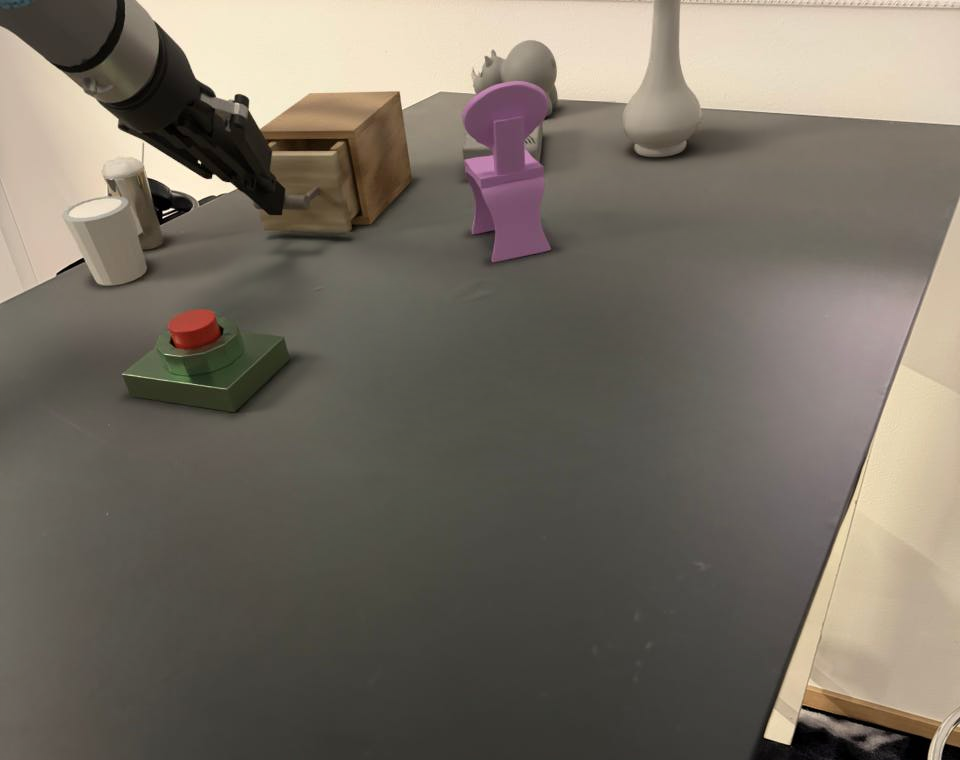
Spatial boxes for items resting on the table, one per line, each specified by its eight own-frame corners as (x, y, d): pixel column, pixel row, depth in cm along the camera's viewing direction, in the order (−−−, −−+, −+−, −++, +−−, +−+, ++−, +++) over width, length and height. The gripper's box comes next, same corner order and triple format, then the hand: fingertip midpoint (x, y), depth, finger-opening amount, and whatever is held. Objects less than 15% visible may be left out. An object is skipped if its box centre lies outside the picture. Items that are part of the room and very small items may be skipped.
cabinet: (370, 224, 98) (353, 130, 91) (279, 222, 101) (256, 131, 94) (412, 180, 107) (399, 91, 100) (327, 179, 110) (309, 93, 103)
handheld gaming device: (464, 181, 105) (461, 146, 102) (475, 140, 115) (473, 108, 112) (538, 177, 104) (537, 142, 101) (543, 136, 114) (542, 103, 111)
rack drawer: (332, 248, 92) (315, 169, 86) (246, 245, 95) (224, 168, 89) (390, 189, 103) (378, 115, 97) (311, 188, 106) (295, 116, 100)
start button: (165, 348, 74) (157, 329, 72) (193, 326, 76) (186, 307, 75) (203, 353, 72) (196, 333, 71) (230, 330, 75) (224, 311, 74)
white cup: (165, 263, 96) (141, 196, 91) (124, 291, 92) (96, 222, 87) (118, 258, 98) (92, 192, 93) (76, 284, 94) (47, 217, 89)
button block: (130, 396, 76) (112, 354, 73) (191, 346, 81) (176, 305, 79) (234, 412, 72) (219, 368, 69) (290, 359, 78) (278, 316, 75)
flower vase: (585, 135, 112) (582, -120, 94) (733, 129, 108) (759, -139, 90) (571, 172, 103) (565, -102, 85) (732, 167, 99) (761, -121, 81)
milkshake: (181, 242, 100) (149, 146, 93) (136, 256, 98) (100, 160, 91) (169, 231, 103) (137, 137, 96) (125, 244, 101) (89, 150, 94)
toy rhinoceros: (483, 106, 125) (477, 36, 119) (564, 105, 122) (562, 32, 116) (467, 122, 121) (460, 50, 115) (550, 121, 117) (548, 47, 111)
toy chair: (534, 218, 95) (526, 57, 84) (560, 248, 89) (555, 78, 78) (461, 233, 94) (443, 72, 83) (482, 264, 88) (466, 95, 77)
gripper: (48, 109, 69) (218, 237, 92) (188, 107, 66) (329, 240, 88) (59, 12, 69) (227, 164, 91) (201, 4, 65) (339, 165, 88)
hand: (277, 201), depth 90 cm, fingers closed
